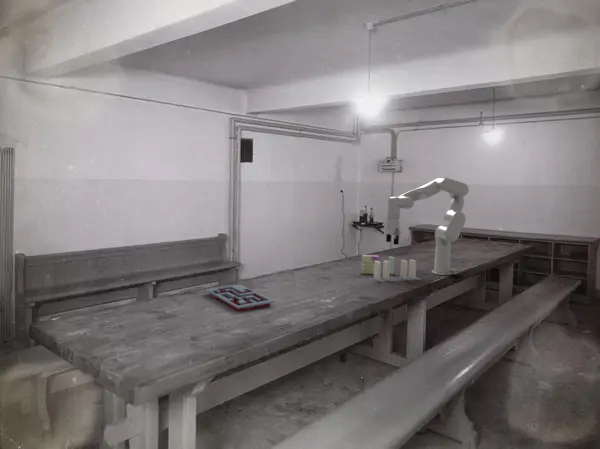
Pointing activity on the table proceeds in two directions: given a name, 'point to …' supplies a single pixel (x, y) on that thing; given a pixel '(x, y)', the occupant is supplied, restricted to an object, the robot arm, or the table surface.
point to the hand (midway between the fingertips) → (392, 243)
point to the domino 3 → (391, 264)
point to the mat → (394, 279)
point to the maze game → (240, 297)
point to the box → (368, 263)
